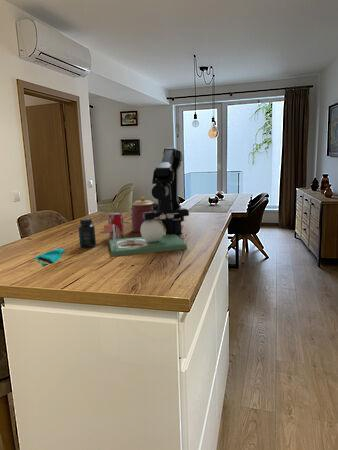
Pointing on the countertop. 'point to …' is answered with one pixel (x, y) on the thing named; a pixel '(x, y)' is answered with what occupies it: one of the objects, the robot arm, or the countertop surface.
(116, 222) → the soda can
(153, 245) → the putting deck
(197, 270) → the countertop surface
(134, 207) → the canister
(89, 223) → the supplement bottle
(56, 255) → the cloth
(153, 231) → the ball
